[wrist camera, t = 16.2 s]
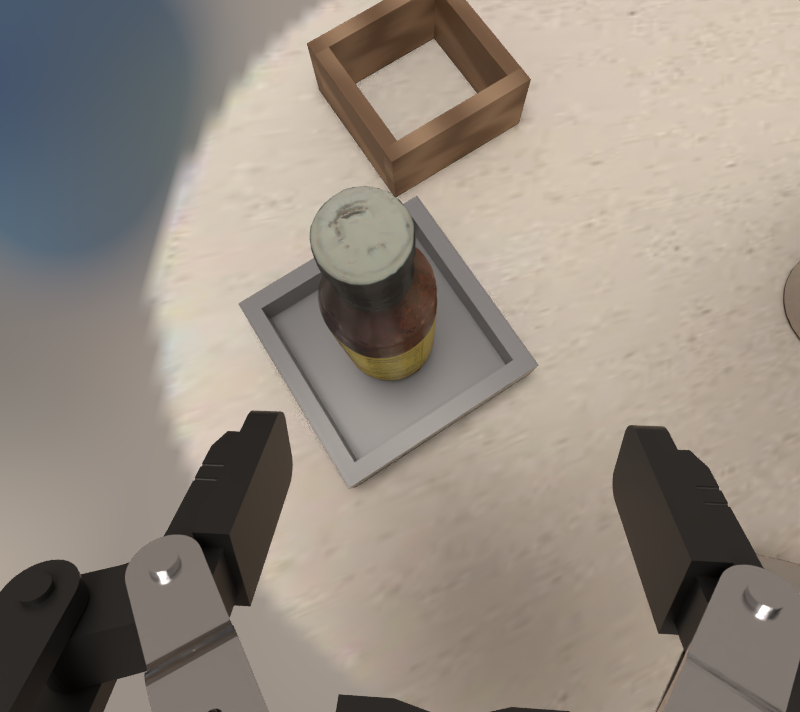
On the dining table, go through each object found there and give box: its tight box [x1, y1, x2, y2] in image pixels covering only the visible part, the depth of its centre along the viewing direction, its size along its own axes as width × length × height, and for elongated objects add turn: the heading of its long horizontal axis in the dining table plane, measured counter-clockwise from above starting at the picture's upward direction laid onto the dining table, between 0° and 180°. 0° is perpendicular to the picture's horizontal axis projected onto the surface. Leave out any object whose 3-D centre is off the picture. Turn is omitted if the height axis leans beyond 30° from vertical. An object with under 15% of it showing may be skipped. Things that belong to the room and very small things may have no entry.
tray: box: [239, 196, 538, 488], centre depth 39 cm, size 15×15×4 cm
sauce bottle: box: [310, 186, 437, 380], centre depth 30 cm, size 7×6×20 cm
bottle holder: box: [307, 0, 531, 197], centre depth 43 cm, size 12×12×5 cm
